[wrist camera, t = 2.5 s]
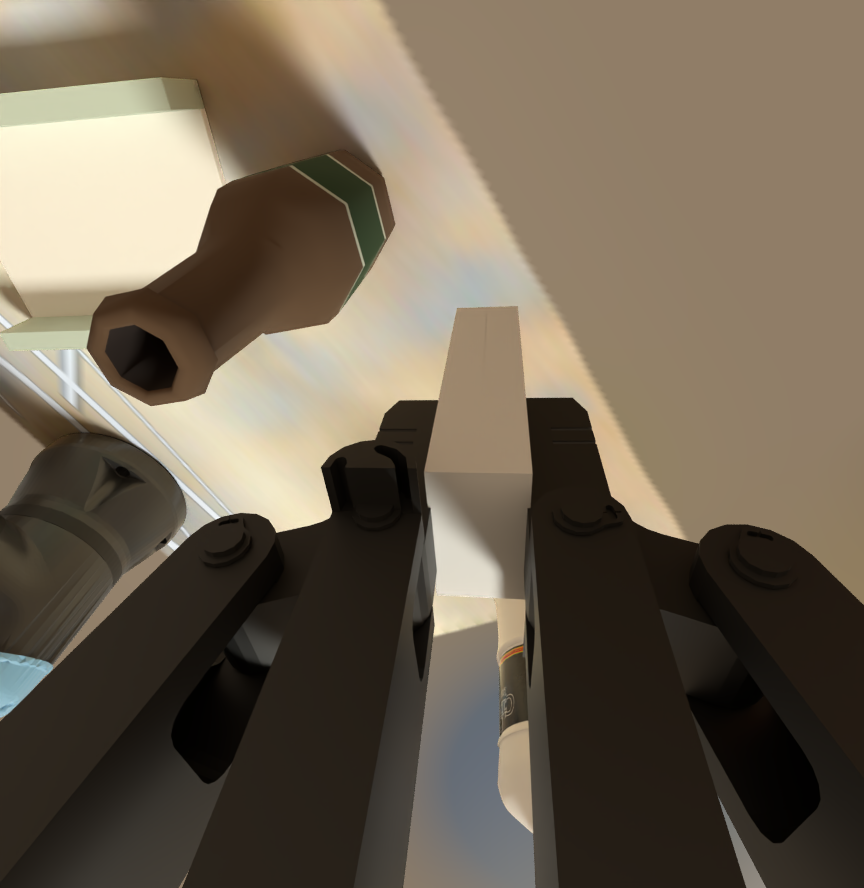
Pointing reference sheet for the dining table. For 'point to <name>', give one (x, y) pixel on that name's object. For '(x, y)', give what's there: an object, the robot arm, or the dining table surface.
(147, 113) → the rest
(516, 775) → the vodka
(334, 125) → the dining table surface
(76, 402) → the dining table surface
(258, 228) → the beer bottle
